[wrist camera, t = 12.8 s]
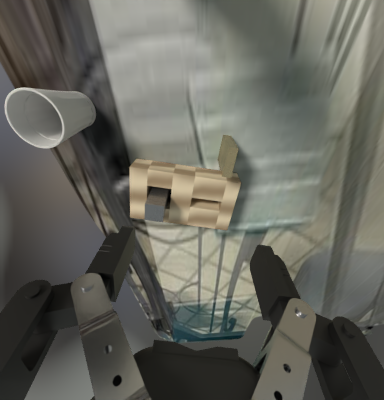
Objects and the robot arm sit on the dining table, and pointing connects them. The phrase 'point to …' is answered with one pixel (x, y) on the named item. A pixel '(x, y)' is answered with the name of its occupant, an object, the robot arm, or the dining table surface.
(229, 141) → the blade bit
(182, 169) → the socket block
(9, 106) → the cup
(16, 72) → the dining table surface
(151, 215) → the square bit
